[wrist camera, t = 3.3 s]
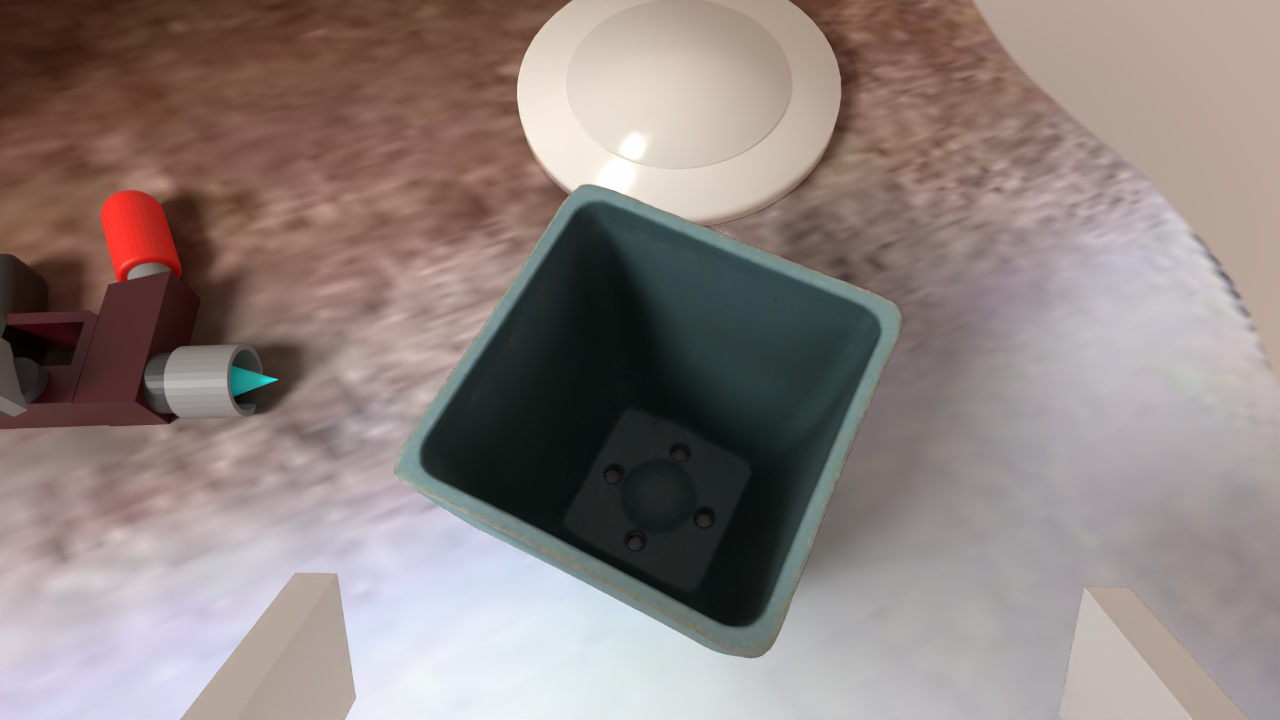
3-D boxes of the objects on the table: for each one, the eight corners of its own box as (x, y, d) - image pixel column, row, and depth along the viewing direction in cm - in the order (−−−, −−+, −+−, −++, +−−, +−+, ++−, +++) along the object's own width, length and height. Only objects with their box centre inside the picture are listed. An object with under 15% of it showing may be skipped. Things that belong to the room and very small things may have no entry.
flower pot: (839, 439, 26) (913, 302, 18) (732, 697, 23) (765, 669, 15) (604, 337, 28) (578, 173, 20) (474, 562, 25) (381, 473, 17)
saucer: (458, 145, 32) (451, 125, 31) (625, -46, 37) (624, -69, 36) (743, 282, 29) (746, 264, 28) (887, 53, 34) (894, 31, 33)
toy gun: (286, 439, 27) (214, 380, 23) (-57, 451, 28) (-193, 395, 23) (327, 208, 32) (272, 122, 27) (29, 221, 32) (-72, 137, 28)
